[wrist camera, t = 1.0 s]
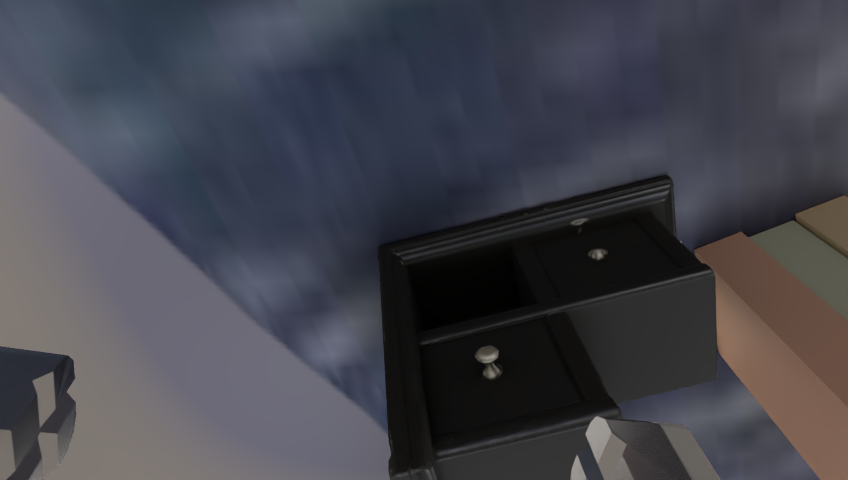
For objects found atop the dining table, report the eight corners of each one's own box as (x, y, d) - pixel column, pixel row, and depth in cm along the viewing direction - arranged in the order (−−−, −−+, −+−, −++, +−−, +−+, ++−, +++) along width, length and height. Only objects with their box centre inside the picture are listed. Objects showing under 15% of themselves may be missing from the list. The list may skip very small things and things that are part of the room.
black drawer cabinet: (669, 172, 49) (893, 360, 28) (675, 288, 54) (870, 523, 33) (375, 243, 50) (378, 478, 29) (408, 351, 55) (431, 619, 34)
